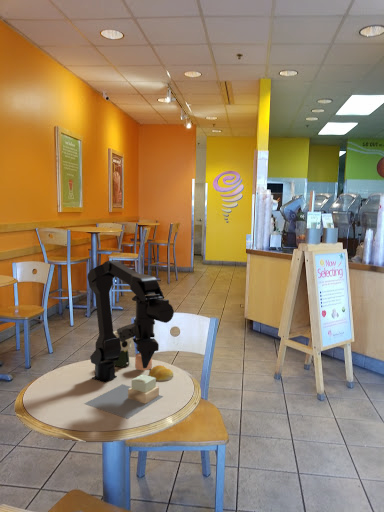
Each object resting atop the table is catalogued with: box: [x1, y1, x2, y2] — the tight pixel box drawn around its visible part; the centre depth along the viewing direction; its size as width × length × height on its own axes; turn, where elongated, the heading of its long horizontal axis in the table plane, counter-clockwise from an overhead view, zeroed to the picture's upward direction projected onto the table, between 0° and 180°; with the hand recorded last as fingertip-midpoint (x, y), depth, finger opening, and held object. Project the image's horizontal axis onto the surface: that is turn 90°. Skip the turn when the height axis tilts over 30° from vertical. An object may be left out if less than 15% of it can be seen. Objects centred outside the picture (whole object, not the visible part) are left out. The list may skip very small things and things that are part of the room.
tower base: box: [128, 385, 160, 404], centre depth 130 cm, size 7×7×3 cm
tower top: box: [131, 373, 157, 393], centre depth 129 cm, size 6×6×3 cm
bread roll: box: [148, 365, 174, 382], centre depth 148 cm, size 8×9×4 cm
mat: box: [83, 384, 164, 420], centre depth 127 cm, size 17×18×1 cm
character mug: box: [113, 330, 132, 367], centre depth 158 cm, size 11×7×13 cm, turn 149°
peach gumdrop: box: [134, 352, 153, 371], centre depth 129 cm, size 5×5×4 cm
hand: (143, 364), depth 129 cm, fingers closed on peach gumdrop, 5 cm apart
